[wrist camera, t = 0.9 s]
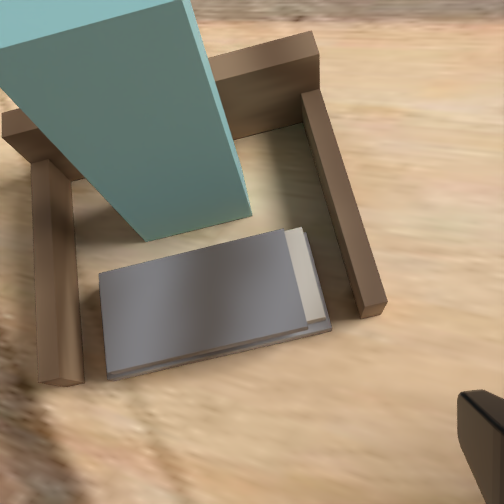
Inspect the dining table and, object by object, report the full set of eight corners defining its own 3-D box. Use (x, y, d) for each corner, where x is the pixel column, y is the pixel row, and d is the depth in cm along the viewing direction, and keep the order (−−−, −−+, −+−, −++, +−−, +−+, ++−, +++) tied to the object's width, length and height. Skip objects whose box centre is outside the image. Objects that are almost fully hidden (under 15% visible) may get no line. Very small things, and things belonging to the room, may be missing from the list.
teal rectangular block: (145, 241, 26) (-30, 56, 13) (139, 194, 27) (-28, -21, 14) (252, 215, 26) (181, -2, 13) (241, 168, 27) (166, -76, 14)
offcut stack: (114, 381, 24) (92, 376, 21) (105, 286, 25) (84, 272, 23) (331, 330, 23) (332, 320, 21) (306, 237, 25) (305, 219, 23)
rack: (65, 387, 24) (4, 377, 19) (53, 164, 29) (1, 113, 24) (381, 314, 23) (396, 285, 18) (313, 96, 28) (311, 30, 23)
